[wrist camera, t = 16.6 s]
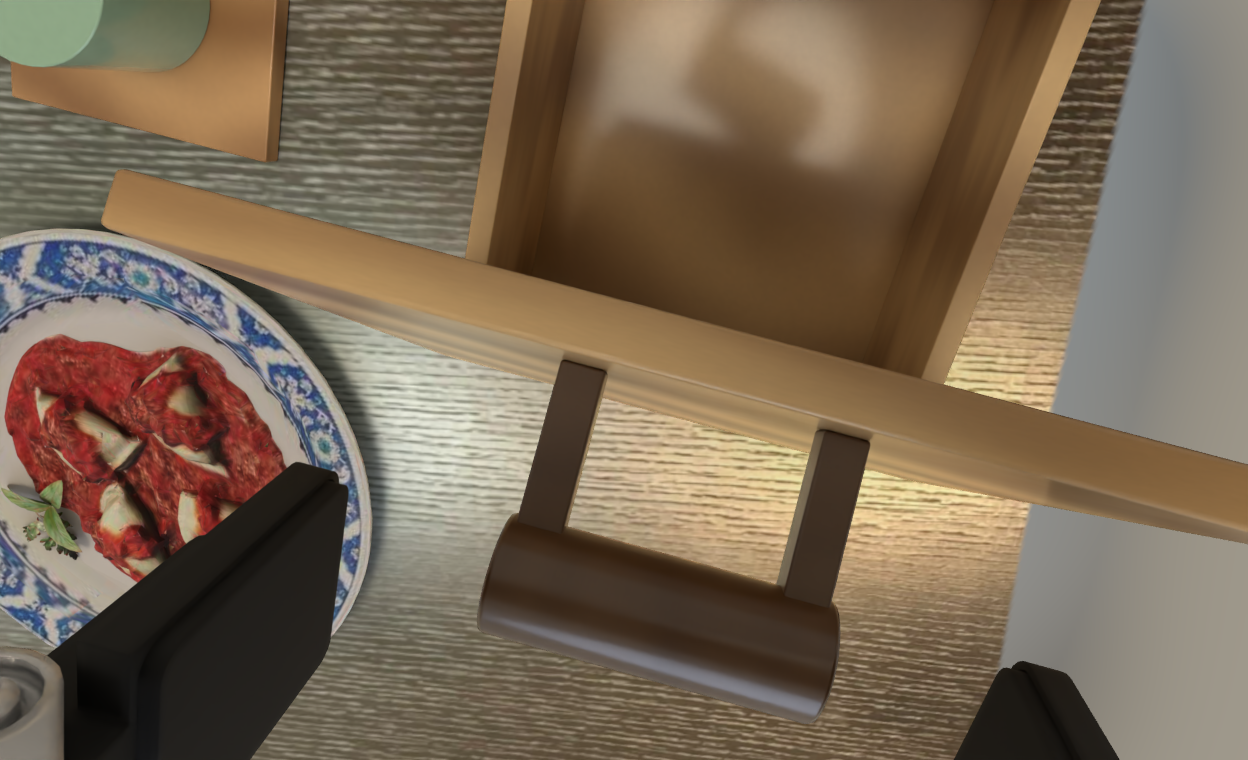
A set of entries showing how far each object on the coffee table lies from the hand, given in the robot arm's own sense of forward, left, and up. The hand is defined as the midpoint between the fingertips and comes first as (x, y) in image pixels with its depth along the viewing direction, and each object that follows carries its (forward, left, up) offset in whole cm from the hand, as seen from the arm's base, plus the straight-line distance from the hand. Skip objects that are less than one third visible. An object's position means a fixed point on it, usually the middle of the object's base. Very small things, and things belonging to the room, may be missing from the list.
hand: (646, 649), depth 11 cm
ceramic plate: (+17, -25, -26) cm, 40 cm away
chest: (-6, 0, -25) cm, 26 cm away
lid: (-1, 0, -8) cm, 8 cm away
